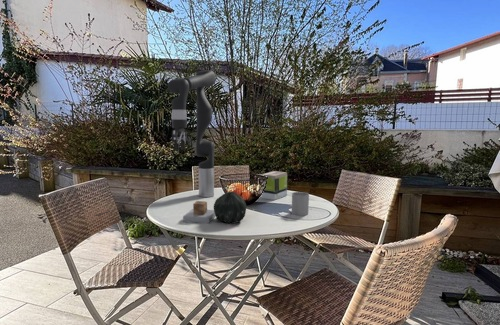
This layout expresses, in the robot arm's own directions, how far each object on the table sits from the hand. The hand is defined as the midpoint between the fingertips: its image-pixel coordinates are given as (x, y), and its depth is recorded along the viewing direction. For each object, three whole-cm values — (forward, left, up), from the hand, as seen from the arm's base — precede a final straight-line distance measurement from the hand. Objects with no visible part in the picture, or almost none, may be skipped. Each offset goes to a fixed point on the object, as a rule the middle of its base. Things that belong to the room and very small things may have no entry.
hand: (179, 150), depth 164 cm
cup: (0, +63, -30) cm, 70 cm away
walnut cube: (+18, +17, -28) cm, 37 cm away
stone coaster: (+18, +17, -30) cm, 39 cm away
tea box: (-32, +47, -30) cm, 64 cm away
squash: (+19, +32, -30) cm, 48 cm away
